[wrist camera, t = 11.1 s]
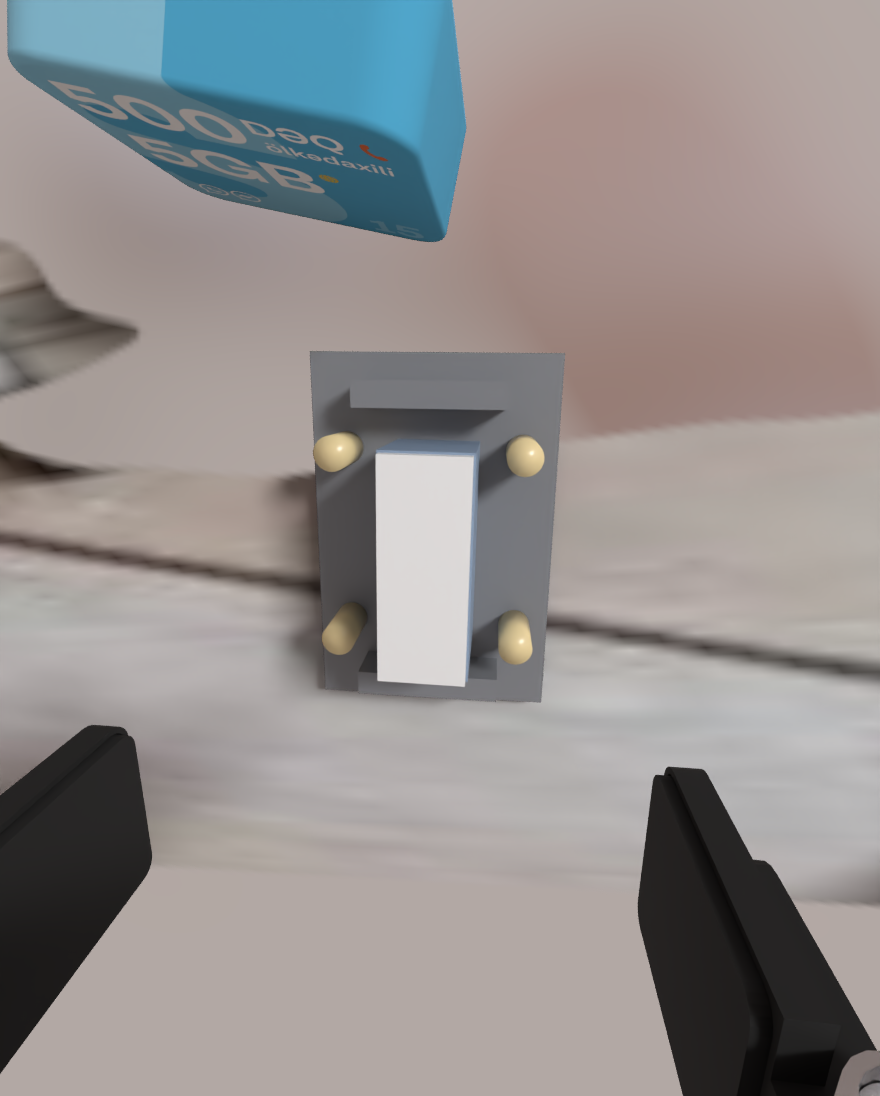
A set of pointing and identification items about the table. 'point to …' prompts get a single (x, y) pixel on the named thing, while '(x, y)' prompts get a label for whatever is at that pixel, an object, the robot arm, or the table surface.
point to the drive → (426, 559)
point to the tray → (502, 516)
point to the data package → (268, 98)
